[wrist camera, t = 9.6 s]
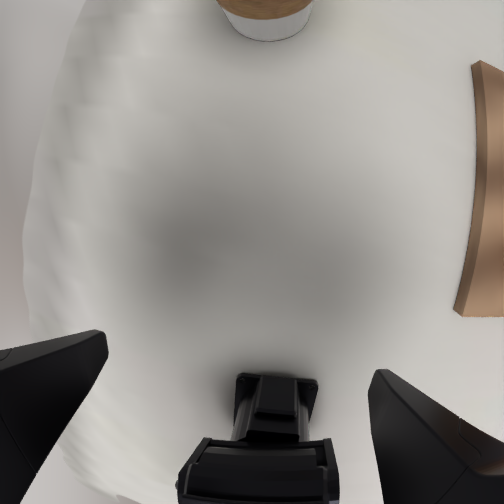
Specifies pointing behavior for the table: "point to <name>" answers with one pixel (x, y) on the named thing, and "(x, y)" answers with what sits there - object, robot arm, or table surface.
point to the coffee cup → (267, 17)
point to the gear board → (486, 202)
